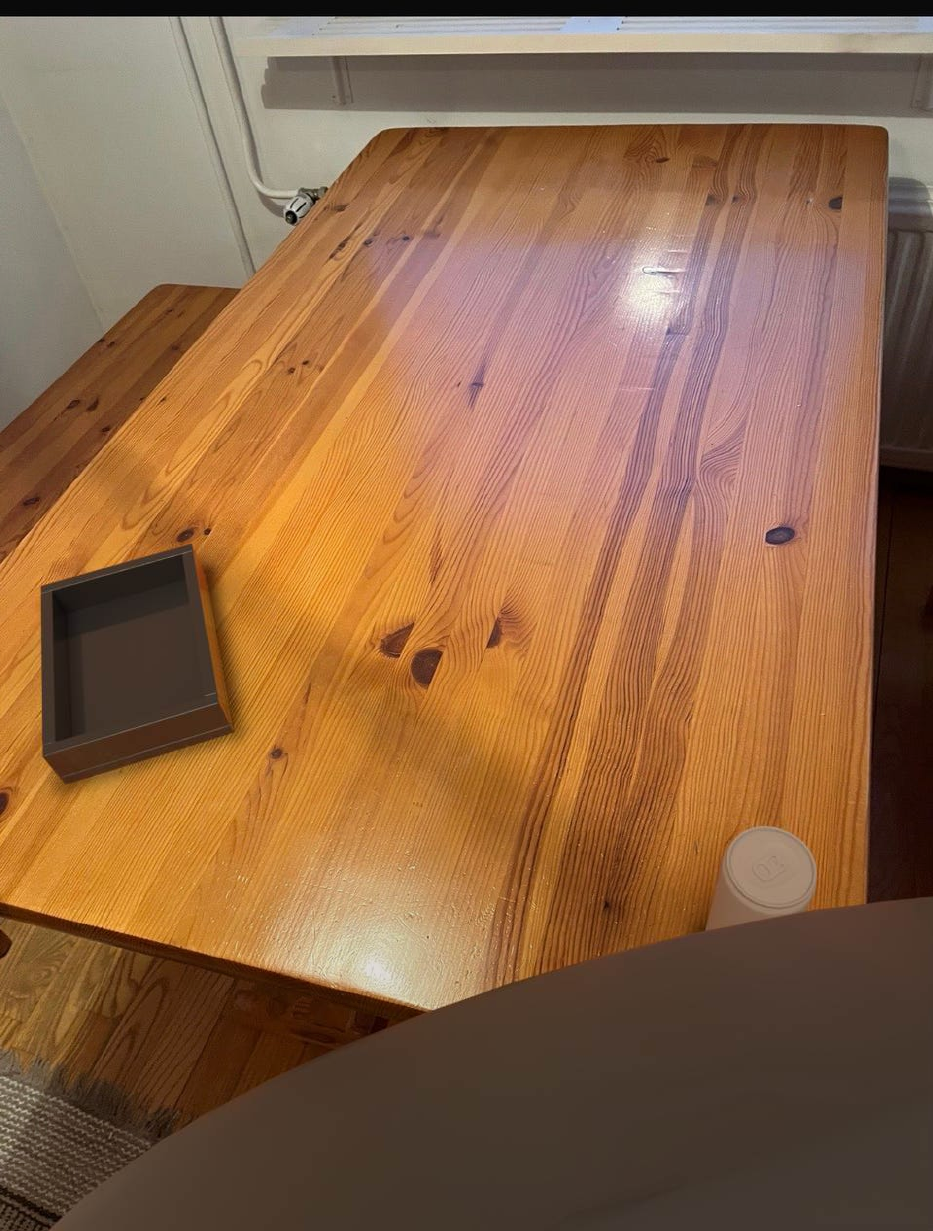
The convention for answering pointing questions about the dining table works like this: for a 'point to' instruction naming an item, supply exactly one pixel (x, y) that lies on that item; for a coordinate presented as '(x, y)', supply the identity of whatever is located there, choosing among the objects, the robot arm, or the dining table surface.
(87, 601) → the dark shallow tray
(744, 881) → the beverage can
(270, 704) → the dining table surface
